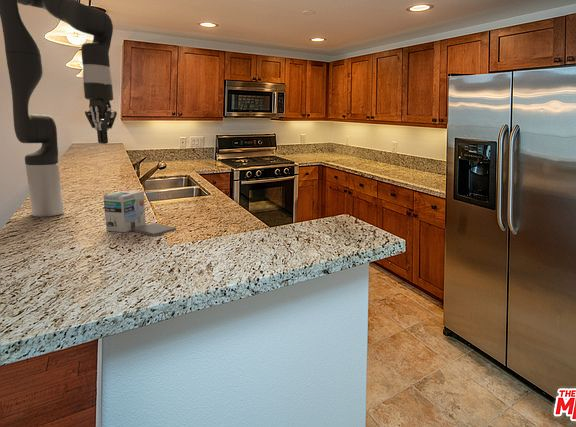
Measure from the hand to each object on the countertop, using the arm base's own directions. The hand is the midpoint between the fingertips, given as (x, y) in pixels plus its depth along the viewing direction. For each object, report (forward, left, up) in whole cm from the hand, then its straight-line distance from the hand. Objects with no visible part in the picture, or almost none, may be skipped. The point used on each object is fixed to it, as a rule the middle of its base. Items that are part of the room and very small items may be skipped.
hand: (103, 143), depth 110 cm
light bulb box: (+8, 0, -25) cm, 27 cm away
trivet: (+18, +3, -25) cm, 31 cm away
